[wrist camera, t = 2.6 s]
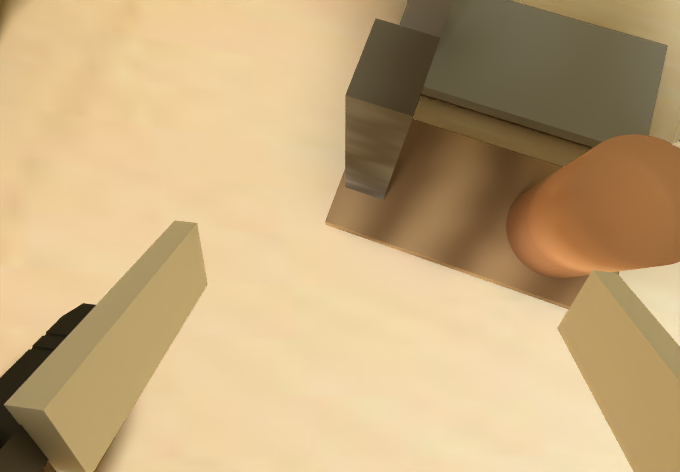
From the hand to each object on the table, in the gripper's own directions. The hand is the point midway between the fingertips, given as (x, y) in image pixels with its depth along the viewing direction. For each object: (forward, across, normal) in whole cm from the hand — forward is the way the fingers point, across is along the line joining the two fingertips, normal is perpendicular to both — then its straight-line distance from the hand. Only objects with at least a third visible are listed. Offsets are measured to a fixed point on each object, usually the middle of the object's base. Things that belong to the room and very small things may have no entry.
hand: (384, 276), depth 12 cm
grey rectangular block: (+24, +11, +4) cm, 27 cm away
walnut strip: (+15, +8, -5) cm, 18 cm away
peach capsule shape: (+14, +13, -5) cm, 20 cm away
